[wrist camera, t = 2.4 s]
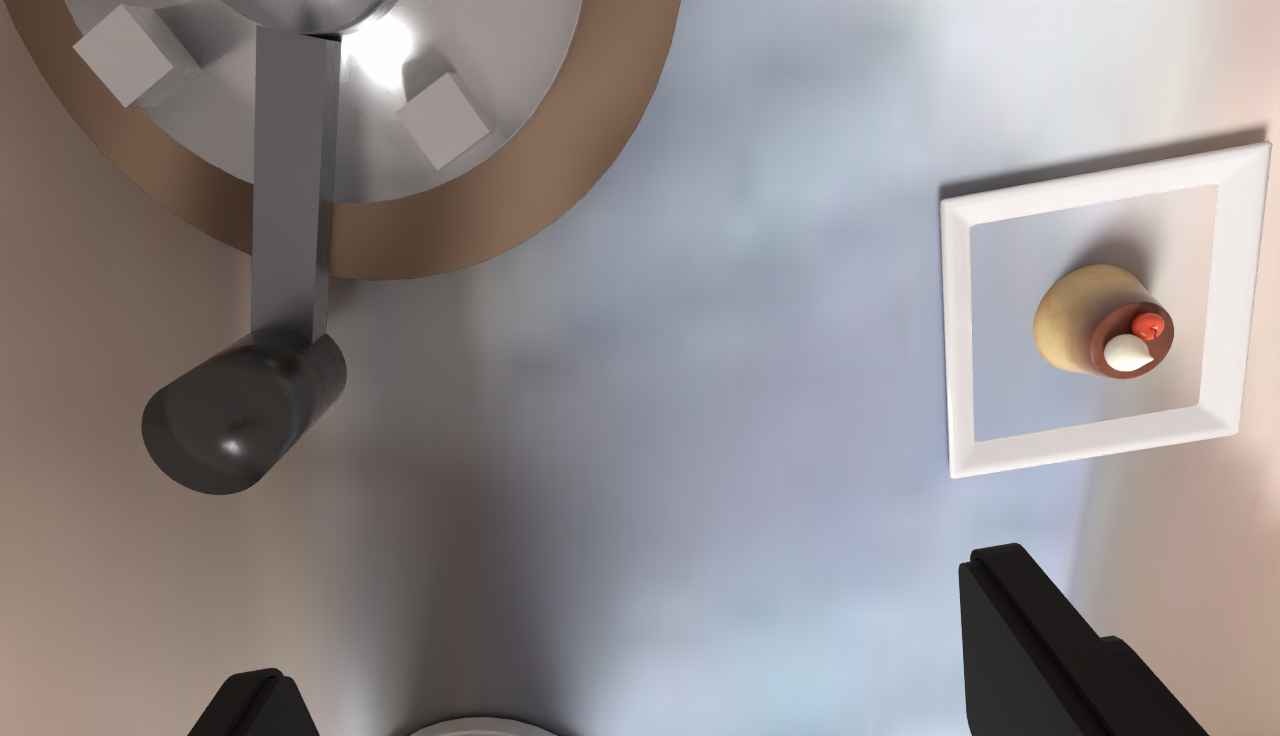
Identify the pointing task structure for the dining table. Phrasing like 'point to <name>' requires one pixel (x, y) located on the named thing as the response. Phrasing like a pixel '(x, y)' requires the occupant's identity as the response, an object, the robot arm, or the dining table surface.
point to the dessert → (1112, 311)
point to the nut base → (413, 225)
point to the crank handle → (310, 166)
